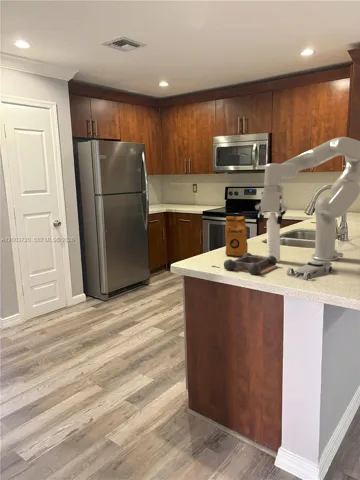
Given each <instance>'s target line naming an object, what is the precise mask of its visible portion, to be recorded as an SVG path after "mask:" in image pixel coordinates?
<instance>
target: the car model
mask: <svg viewBox="0 0 360 480" xmlns="http://www.w3.org/2000/svg"><path fill="white" fill-rule="evenodd" d="M332 266H333V264H332V262H331V261H322V260H311V261H308V262H307V263H306V264H304V265H302V266H300V267H299V268H297V269H296V270H295V269H294V268H293V267H288V268H287V269H286V275H287V276H289V277H290V278H296V279H297V280H305V281H308V279H309V280H311V279H312V278H315V277H319V276H322V274H323V275H328V274H332V273H333V271H334V269H333V267H332Z"/></svg>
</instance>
